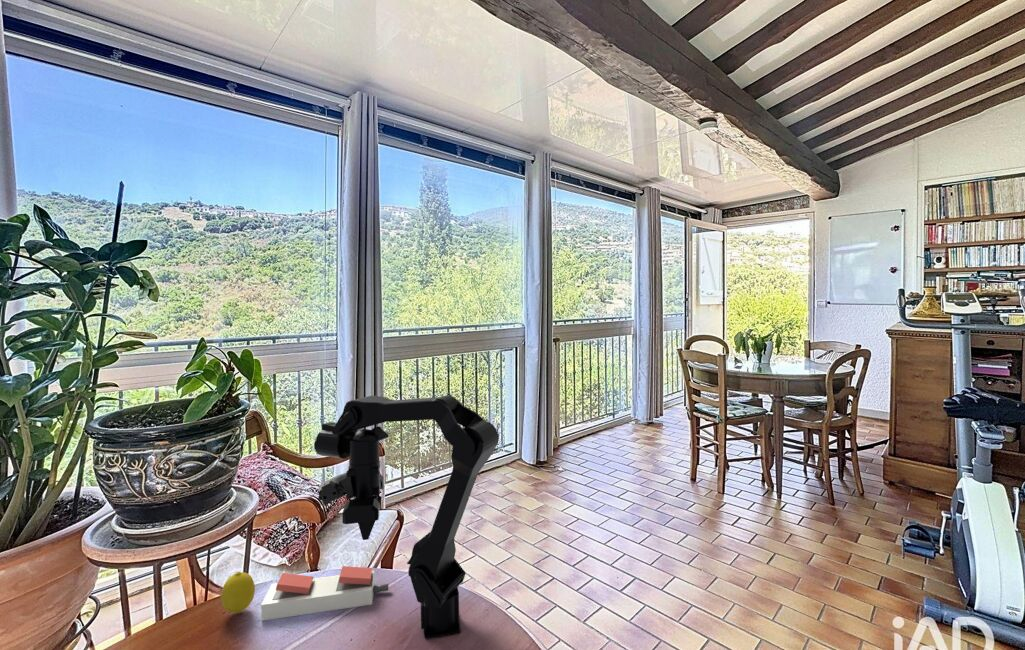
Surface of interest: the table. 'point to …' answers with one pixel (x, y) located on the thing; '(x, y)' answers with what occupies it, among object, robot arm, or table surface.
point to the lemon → (238, 592)
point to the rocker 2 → (355, 575)
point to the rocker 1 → (294, 583)
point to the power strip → (318, 598)
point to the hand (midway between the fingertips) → (365, 538)
